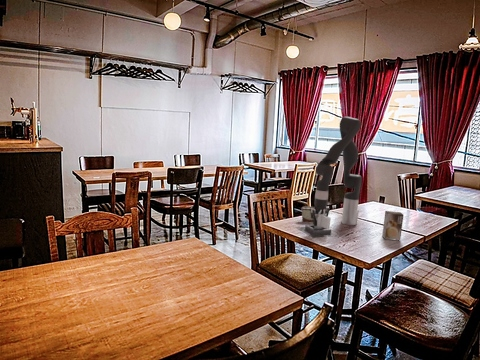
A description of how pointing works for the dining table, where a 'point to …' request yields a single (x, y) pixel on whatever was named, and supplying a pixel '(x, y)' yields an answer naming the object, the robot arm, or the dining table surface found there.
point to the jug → (322, 222)
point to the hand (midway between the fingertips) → (318, 225)
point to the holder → (317, 232)
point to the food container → (306, 214)
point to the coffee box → (392, 225)
